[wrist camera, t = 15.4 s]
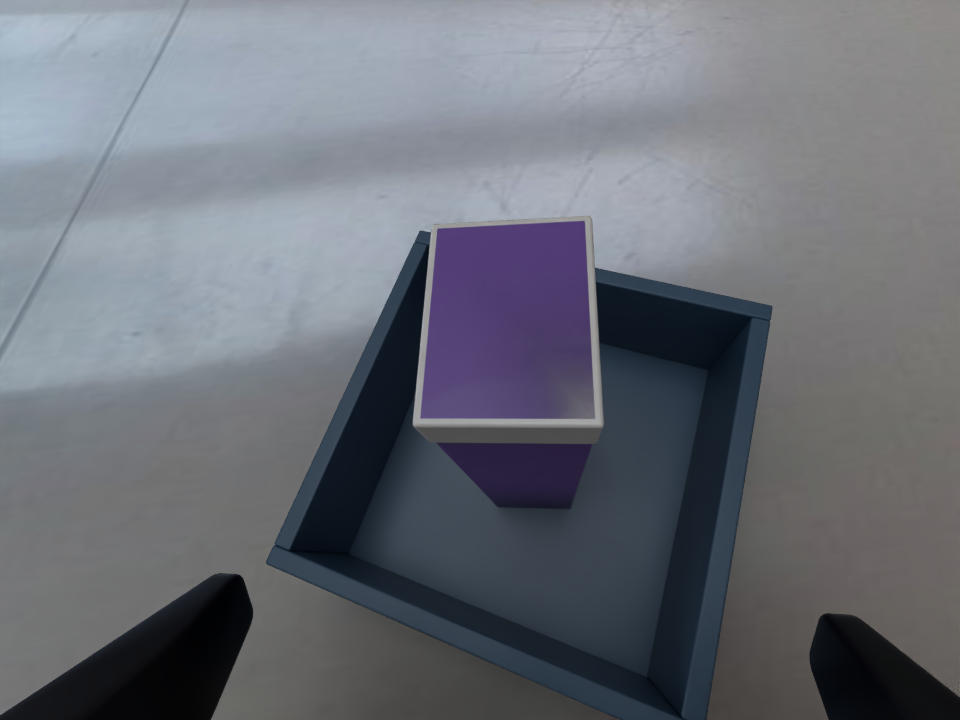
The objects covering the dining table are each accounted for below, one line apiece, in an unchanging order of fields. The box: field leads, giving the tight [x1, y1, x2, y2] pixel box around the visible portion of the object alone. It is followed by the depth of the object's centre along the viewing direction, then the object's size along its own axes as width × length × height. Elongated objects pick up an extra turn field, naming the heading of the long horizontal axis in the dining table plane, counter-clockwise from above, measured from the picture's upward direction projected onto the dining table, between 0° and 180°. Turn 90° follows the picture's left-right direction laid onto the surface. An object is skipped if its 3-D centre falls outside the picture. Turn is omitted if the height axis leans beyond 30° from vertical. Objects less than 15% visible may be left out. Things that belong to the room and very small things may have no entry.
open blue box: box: [266, 231, 772, 720], centre depth 18 cm, size 13×13×6 cm
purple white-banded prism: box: [413, 216, 604, 509], centre depth 14 cm, size 4×3×13 cm
